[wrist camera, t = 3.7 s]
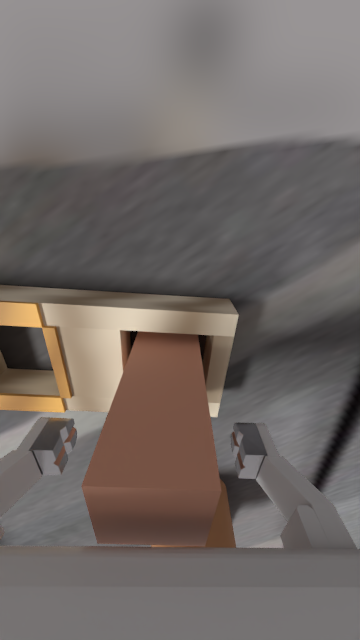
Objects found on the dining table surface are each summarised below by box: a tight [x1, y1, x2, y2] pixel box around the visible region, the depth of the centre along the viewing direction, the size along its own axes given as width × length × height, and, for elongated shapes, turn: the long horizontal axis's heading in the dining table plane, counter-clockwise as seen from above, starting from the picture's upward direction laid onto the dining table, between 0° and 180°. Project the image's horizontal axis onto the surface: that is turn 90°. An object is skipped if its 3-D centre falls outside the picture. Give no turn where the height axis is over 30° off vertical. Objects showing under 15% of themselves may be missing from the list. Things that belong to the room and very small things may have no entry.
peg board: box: [0, 285, 239, 417], centre depth 14 cm, size 18×8×3 cm, turn 86°
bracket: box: [151, 479, 236, 548], centre depth 24 cm, size 18×8×7 cm, turn 173°
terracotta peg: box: [82, 331, 221, 546], centre depth 11 cm, size 4×4×10 cm
